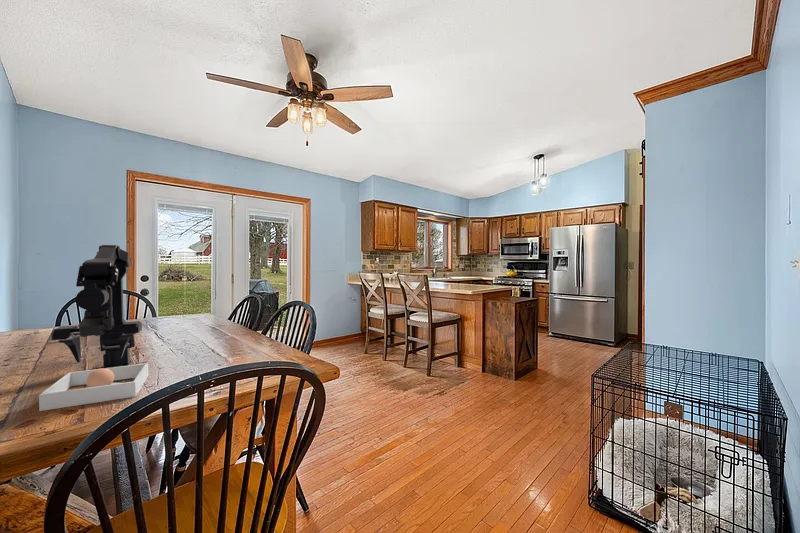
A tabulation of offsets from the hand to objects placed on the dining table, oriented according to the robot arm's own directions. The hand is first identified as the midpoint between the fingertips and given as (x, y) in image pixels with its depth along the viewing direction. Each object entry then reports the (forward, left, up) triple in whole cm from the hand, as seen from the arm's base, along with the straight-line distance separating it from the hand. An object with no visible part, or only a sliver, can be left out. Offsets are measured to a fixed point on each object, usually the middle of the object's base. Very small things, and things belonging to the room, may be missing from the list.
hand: (100, 360), depth 98 cm
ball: (0, 0, -8) cm, 9 cm away
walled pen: (0, 0, -9) cm, 9 cm away
